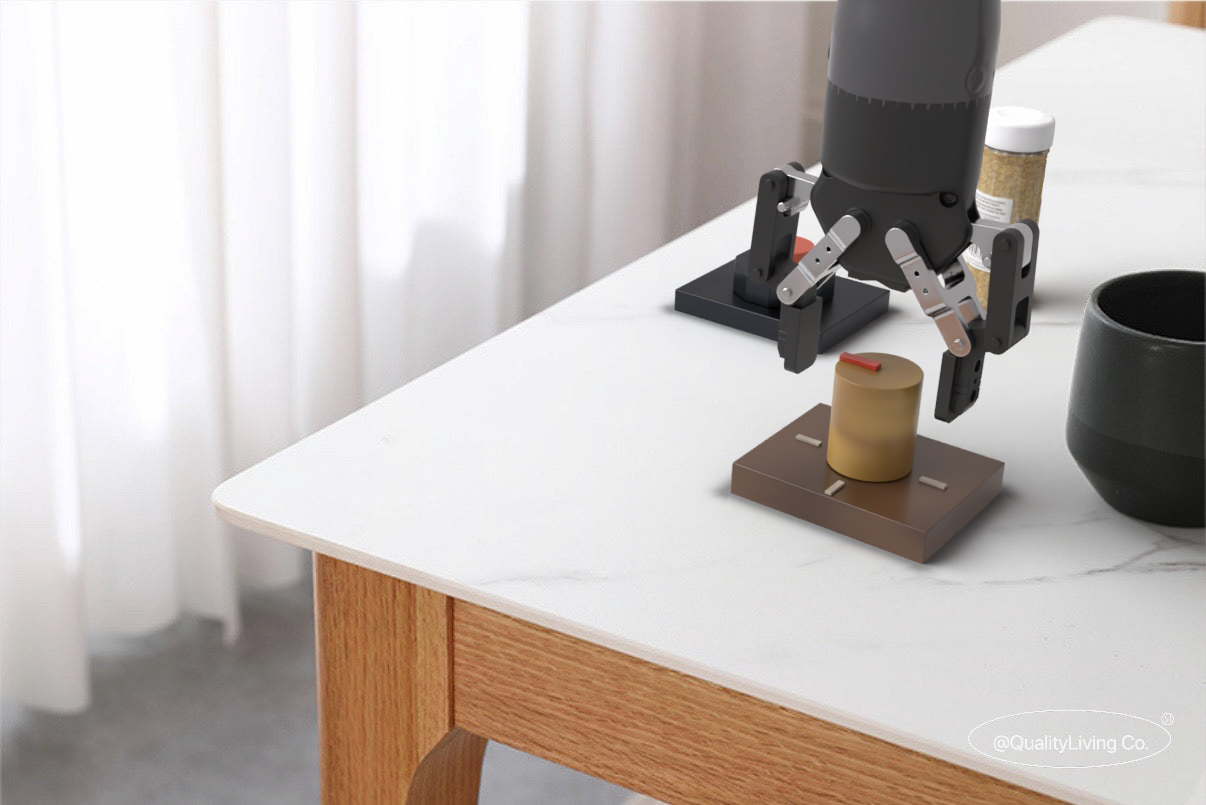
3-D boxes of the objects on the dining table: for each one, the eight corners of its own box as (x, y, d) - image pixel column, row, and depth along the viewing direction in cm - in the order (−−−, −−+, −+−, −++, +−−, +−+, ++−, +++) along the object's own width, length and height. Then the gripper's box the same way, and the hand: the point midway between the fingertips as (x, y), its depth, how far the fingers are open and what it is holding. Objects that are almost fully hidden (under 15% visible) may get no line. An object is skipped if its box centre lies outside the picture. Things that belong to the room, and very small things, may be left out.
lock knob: (927, 458, 81) (939, 362, 79) (887, 491, 78) (899, 391, 75) (852, 433, 83) (862, 339, 81) (810, 464, 80) (819, 367, 78)
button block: (887, 320, 104) (893, 264, 102) (819, 365, 97) (824, 305, 95) (746, 280, 109) (750, 226, 108) (673, 320, 103) (675, 263, 101)
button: (822, 268, 102) (825, 242, 101) (794, 284, 99) (796, 258, 99) (775, 255, 104) (777, 230, 103) (746, 270, 101) (748, 245, 101)
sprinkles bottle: (1039, 318, 104) (1069, 121, 98) (976, 323, 103) (1003, 125, 97) (1007, 293, 108) (1035, 102, 102) (946, 297, 107) (971, 105, 101)
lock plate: (999, 504, 82) (1006, 459, 81) (921, 577, 76) (927, 529, 74) (816, 441, 88) (820, 399, 87) (729, 504, 81) (732, 459, 80)
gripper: (1090, 87, 71) (1035, 407, 78) (817, 34, 78) (789, 330, 86) (1021, 122, 65) (968, 463, 73) (735, 61, 73) (713, 375, 80)
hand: (872, 391), depth 79 cm, fingers open, 8 cm apart
